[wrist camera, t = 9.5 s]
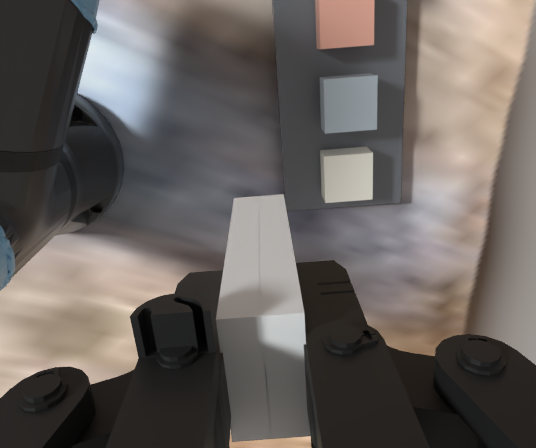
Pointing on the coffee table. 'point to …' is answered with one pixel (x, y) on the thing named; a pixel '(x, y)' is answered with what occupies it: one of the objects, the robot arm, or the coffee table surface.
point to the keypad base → (308, 100)
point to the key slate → (348, 103)
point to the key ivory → (346, 174)
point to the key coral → (344, 23)
